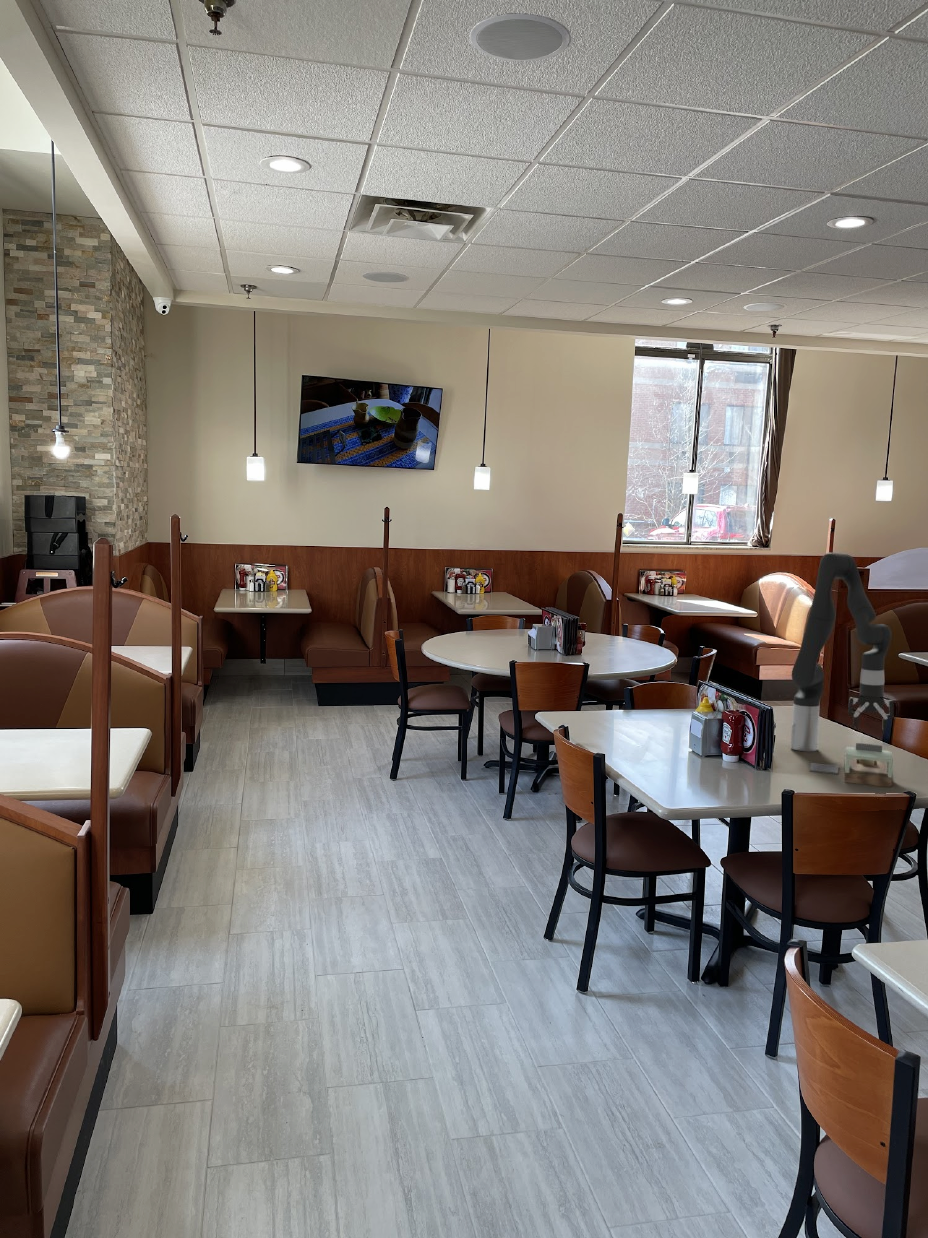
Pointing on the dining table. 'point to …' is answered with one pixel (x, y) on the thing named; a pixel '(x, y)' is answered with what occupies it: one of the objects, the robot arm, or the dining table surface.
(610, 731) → the dining table surface
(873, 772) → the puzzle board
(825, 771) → the rubber mat
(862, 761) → the birch block
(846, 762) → the pale green toy table
